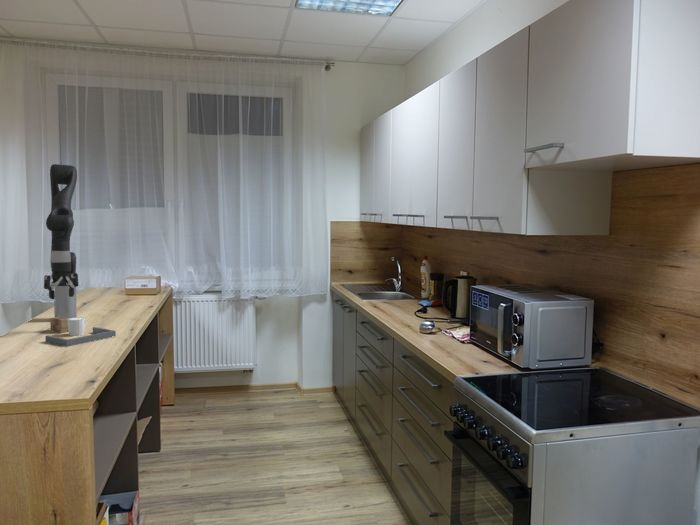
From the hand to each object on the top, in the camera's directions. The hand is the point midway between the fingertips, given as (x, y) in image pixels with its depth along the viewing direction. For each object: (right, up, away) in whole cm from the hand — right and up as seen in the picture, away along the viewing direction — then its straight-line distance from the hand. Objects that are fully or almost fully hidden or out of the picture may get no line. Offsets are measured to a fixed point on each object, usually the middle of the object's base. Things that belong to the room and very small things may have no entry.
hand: (61, 297), depth 234 cm
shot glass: (+8, -16, -4) cm, 18 cm away
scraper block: (-2, -15, +2) cm, 15 cm away
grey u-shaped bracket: (+14, -16, -12) cm, 25 cm away
